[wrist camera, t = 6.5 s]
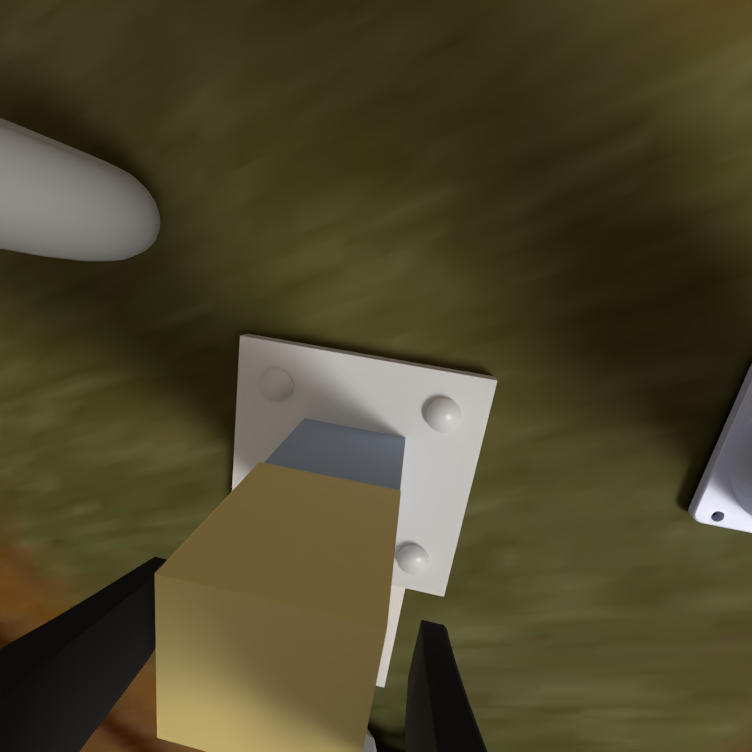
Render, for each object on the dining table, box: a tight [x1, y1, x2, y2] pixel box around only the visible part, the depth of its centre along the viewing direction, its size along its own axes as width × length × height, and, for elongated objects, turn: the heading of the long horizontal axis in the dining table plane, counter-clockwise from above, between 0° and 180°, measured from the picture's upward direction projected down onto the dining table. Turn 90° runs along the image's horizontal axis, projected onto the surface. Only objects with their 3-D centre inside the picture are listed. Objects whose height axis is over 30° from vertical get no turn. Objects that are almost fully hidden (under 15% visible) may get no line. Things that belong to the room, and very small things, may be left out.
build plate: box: [232, 334, 497, 597], centre depth 18 cm, size 12×12×1 cm
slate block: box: [264, 418, 406, 490], centre depth 15 cm, size 5×5×5 cm
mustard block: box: [155, 462, 401, 752], centre depth 10 cm, size 5×5×5 cm
